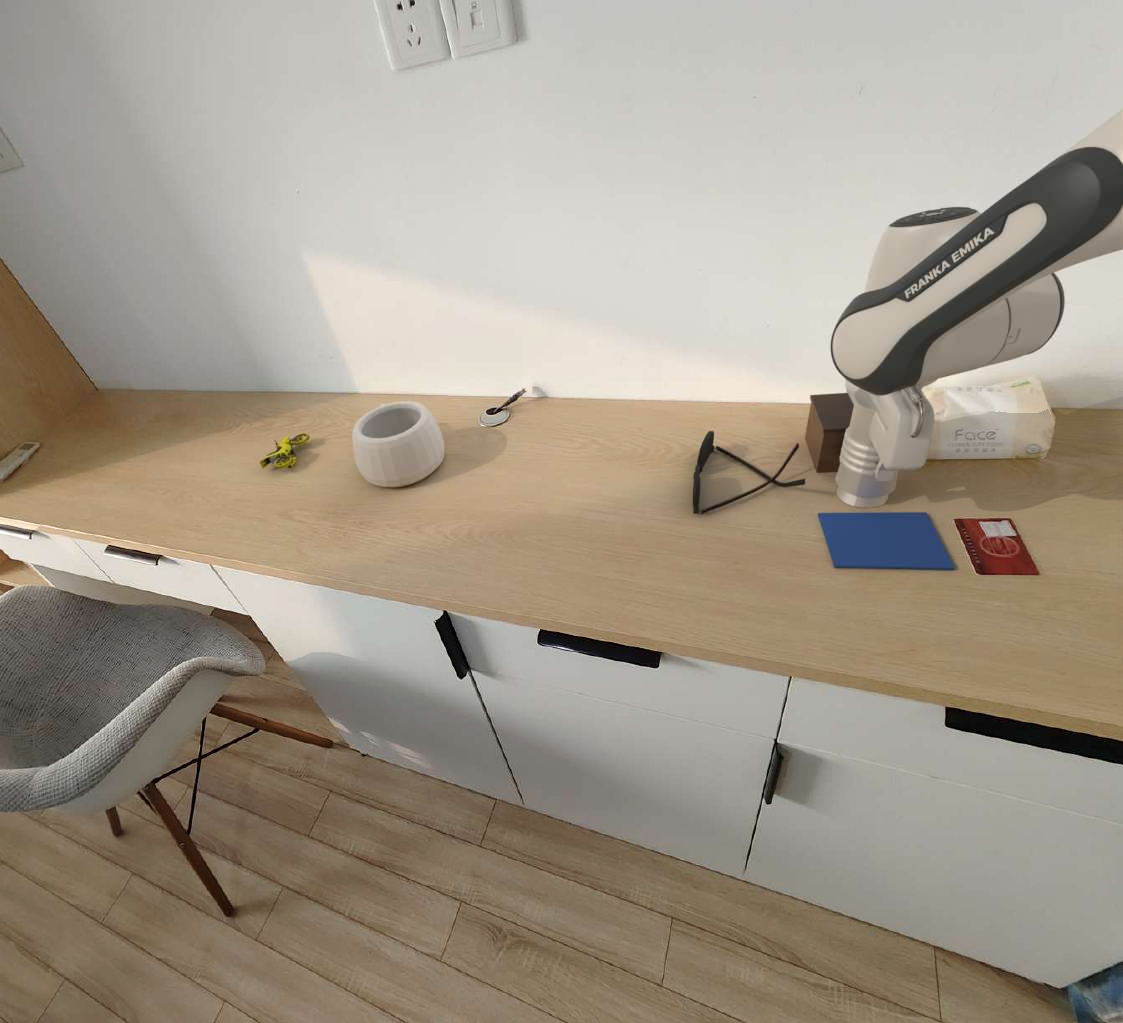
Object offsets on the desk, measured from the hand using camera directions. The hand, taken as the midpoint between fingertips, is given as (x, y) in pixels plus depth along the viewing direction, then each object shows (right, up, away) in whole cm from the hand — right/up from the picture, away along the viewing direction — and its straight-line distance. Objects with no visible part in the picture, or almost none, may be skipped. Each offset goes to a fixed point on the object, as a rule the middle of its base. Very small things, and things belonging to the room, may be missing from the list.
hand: (872, 457), depth 79 cm
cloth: (-1, -11, -3) cm, 11 cm away
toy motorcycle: (-87, +4, +47) cm, 99 cm away
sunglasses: (-11, -3, +11) cm, 16 cm away
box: (+4, +2, +11) cm, 12 cm away
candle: (+2, -5, +4) cm, 7 cm away
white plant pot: (-63, +3, +37) cm, 73 cm away
